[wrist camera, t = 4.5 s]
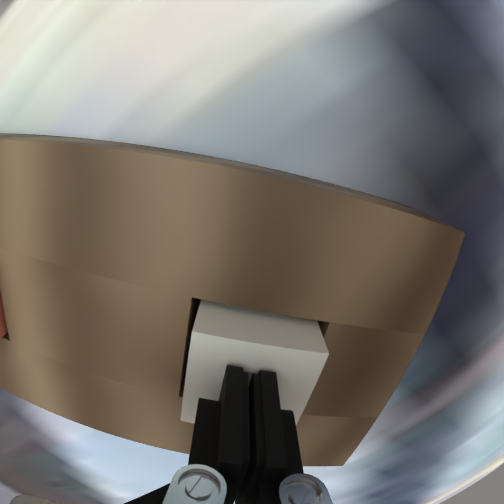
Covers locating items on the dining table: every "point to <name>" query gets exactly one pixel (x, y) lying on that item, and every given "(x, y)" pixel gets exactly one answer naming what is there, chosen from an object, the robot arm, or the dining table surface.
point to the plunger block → (201, 282)
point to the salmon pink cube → (2, 319)
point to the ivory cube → (252, 354)
